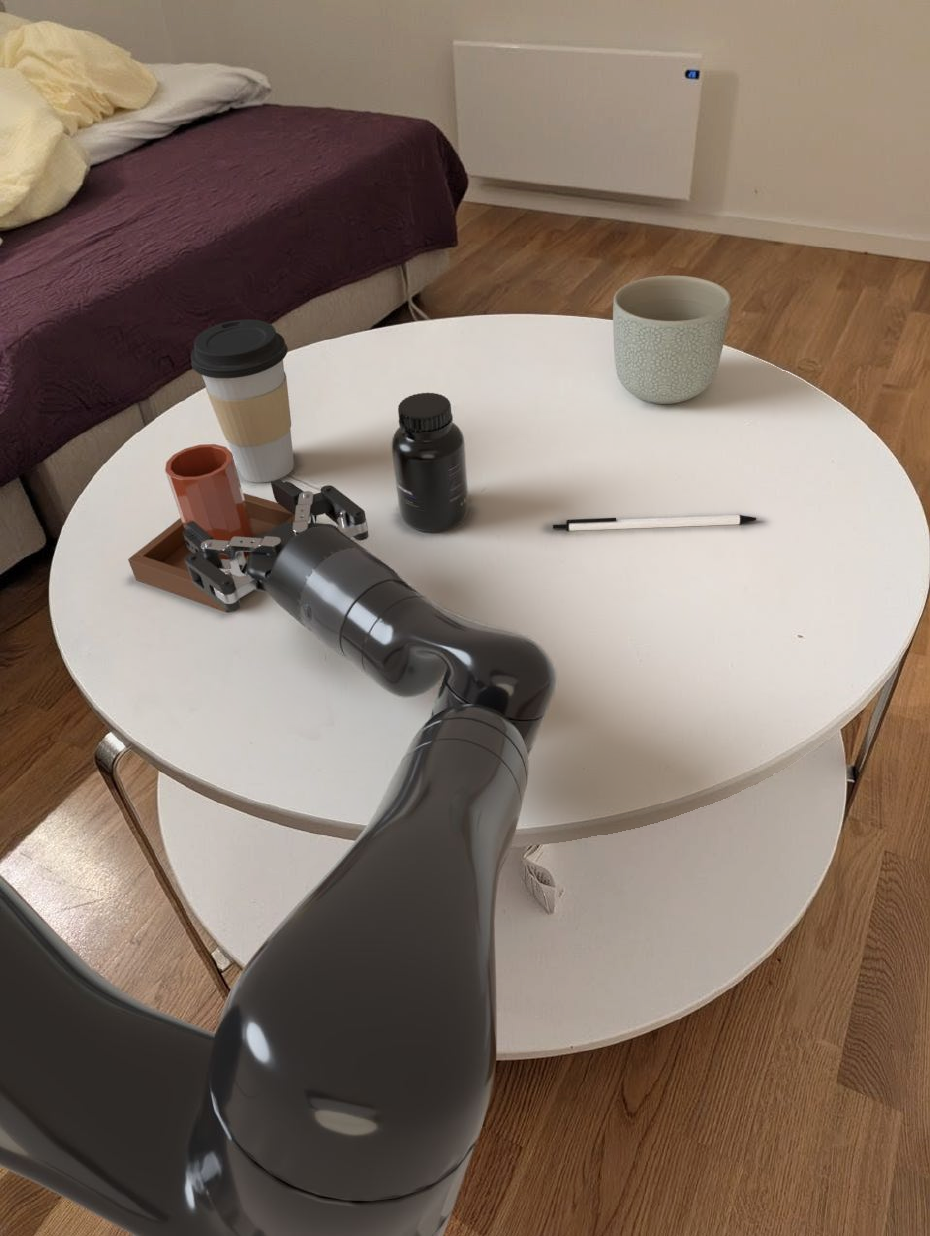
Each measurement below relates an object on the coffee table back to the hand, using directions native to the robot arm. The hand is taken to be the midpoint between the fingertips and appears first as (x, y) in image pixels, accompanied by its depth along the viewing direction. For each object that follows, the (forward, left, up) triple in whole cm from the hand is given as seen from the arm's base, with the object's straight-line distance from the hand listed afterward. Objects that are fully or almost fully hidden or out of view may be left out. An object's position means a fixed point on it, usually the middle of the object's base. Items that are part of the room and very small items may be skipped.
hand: (234, 509), depth 79 cm
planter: (+48, -22, -8) cm, 53 cm away
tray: (+2, +5, -8) cm, 10 cm away
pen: (+23, -30, -8) cm, 39 cm away
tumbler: (+2, +5, -8) cm, 9 cm away
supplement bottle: (+16, -10, -8) cm, 20 cm away
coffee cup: (+16, +11, -8) cm, 21 cm away
